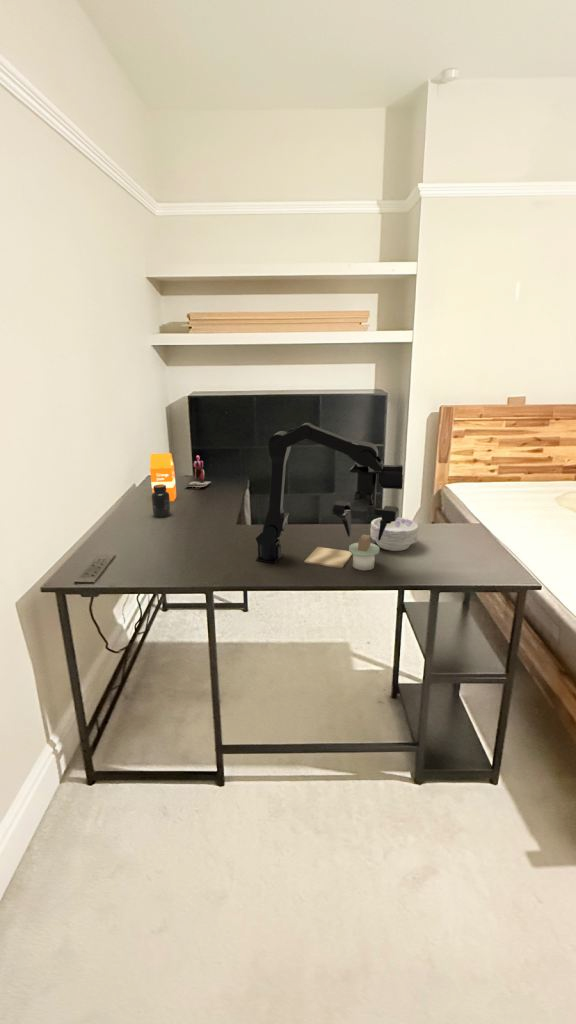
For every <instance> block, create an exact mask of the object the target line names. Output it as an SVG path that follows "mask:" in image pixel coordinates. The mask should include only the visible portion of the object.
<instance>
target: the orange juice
mask: <svg viewBox="0 0 576 1024" xmlns="http://www.w3.org/2000/svg"><path fill="white" fill-rule="evenodd" d="M149 464H150V465H149V467H150V468H149V471H150V473H149V474H150V481H151V491H152V493H153V492H154V488H153V486H154V485H158V484H164V485H166V489H167V490H166V491H167V492H168V493H169V496H170V502H174V501H175V500H176V498H177V488H176V474H175V464H174V460H173V456H172V453H171V452H164V453H163V452H162V453H160V452H159V453H150V461H149ZM152 493H151V494H152Z"/></svg>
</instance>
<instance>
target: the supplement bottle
mask: <svg viewBox="0 0 576 1024" xmlns="http://www.w3.org/2000/svg"><path fill="white" fill-rule="evenodd" d="M153 488H154V492H153V493H151V503H152V505H151V507H152V515H153V516H154V518H162V519H163V518H167V517H170V516H171V515H172V510H171V501H170V496H169V493H168V492H167V491H166V490H167V489H166V485H164V484H158V485H154V486H153Z"/></svg>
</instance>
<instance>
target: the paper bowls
mask: <svg viewBox="0 0 576 1024" xmlns="http://www.w3.org/2000/svg"><path fill="white" fill-rule="evenodd" d="M381 519H382V518H381V517H377V518H374V519H373V520H371V522H370V531H369V532H370V536H371V538H370V539H372V541H375V542H376V545H377V546H378V547H379V548H381V549H383V550H386V551H391V552H392V551H393V552H398V551H404V550H407V549H408V548H409V547H410V546H411V545H413V544H416V542H417V541H418V536H419V535H418V534H419V533H418V532H419V524H418V523H417V522H415V521H413V520H411V519H408V518H404V517H399V516H398V518H397V519H396V521H393V522H391V523H390V524H387V525H386V528H385V530H384V532H383V535H382V537H381V540H380V541H379V540H378V536H379V530H380V521H381Z"/></svg>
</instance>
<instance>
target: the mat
mask: <svg viewBox="0 0 576 1024" xmlns="http://www.w3.org/2000/svg"><path fill="white" fill-rule="evenodd" d="M351 557H353V554H352V553H350V552H349V550H345V549H344V550H342V549H335V548H328V547H322V546H317V547H316V548H315V549H314V550H313V551H312V552H311V553H310V554H309V555H308V557H306V559H305V560H304V563H306V564H312V565H319V566H324V567H331V568H338V569H343V568H344V566H345V565H346V564H347V563H348V561H349V560H350V559H351Z"/></svg>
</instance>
